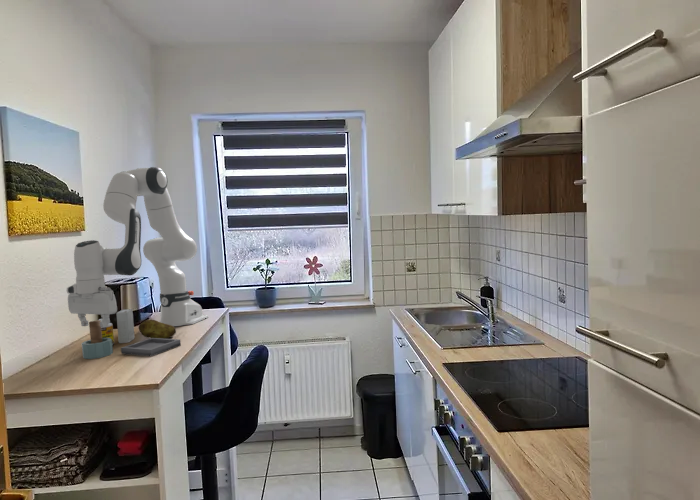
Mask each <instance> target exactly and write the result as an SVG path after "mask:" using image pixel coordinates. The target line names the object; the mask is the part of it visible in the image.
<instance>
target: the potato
mask: <svg viewBox="0 0 700 500" xmlns="http://www.w3.org/2000/svg"><path fill="white" fill-rule="evenodd" d="M138 330H139V332H140V334H141V336H143V337H145V338H147V339H149V338H163V339H171V338H172V337H173V336H175V334H176V332H177V330H176V326H172V325H168V324H164V323H161V322H160V321H158V320H155V319H146V320H143V321H142V322H141V323H140V324H139V325H138Z"/></svg>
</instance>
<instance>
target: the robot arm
mask: <svg viewBox="0 0 700 500" xmlns="http://www.w3.org/2000/svg"><path fill="white" fill-rule="evenodd" d="M167 187H168V176H167V174H166V172H165V171H164V170H163V169H162V168H160V167H154V166H150V167H140V168H139V167H138V168H135V169H130V170H124V171H123V170H122V171H121V172H117V173H115V174H114V175H113V176H112V177H111V180H110V182H109V184H108V187H107V189H106V192H105V195H104V200H103V211H104V213H105V215H106V216H107V217H108V218H110V219H111V220H113V221H114V222H117V223H118V224H119V223H120V224H122V225H124V227H125V230H124V232H125V233H124V245H123V246H121V247H120V248H107V247H105V246H102V245H101V243H100V242H99V240H96V239H95V240H93V239H92V240H85V241H82V242H78V243H77V244H75V245H74V253H73V261H74V270H75V273H76V276H75V283H74V284H72V285H70V286H68V287H66V293H67V294H68V295H67V305H68V310H69V312H70V314H77V317H78V319H79V321H80V323H81V324H80V325H81V327H87V326H88V327H89V320H88V319H87V317H86V316H87V315H100V316H101V319H102V322H100V327H107V321H108V319H109V318H110V315H115V314H116V313H117V312H118V306H117V299H116V296H115V294H114V293H115V292H114V290H112V289H111V287H106V282H105V276H133V275H135V274H136V273H137V272H138V271H139V270H140V268H141V266H142V252H141V239H142V237H141V236H142V217H141V213H140V212H139V210H137V208H136V205H137V200H138V197H143V202H144V207H145V211H146V215H147V218H148V223H149V226H150V228H152V229H153V231H156V232H158V234H159V235H160V236H161V237H156V238H152V239H149V240H147V241H145V243H144V245H143V247H142V249H143V250H142V251H143V256H144V257H145V258H146V260H148V261H149V262H150V263H151V264H152V266H153V267H154V270H155V271H156V274H157V278H158V283H159V291H160V293H159V302H160V316H159V317H160V319H159V322H161V323H164V324H168V325H172V326H174V327H180V326H187V325H194V324H197V323H199V322H201V321H203V320H206V319H208V318H209V315H208V314H203V308H202V306H201V304H199V303H198V302H196V301H194V300H193V299H191V296H194V293H195V292H194V290H187V289H188V288H187V280H186V279H187V278H186V274H185V272H183V270H182V269H180V268H179V267H178V265H177V264H176V262H185V261H188V260H189V261H190V260H191V259H193V258H194V257H196V254H197V252H198V246H197V242H196V241H195V240H194V239H193V238H192V237H190V236H189V235H188V234H186V232H185V231H184V230H183V228H182V227H181V226H180V224H179V222H178V220H177V215H176V213H175V208H174V205H173V201H172V198H171V195H170V192H169V190H168V188H167ZM205 318H206V319H205Z"/></svg>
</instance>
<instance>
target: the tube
mask: <svg viewBox="0 0 700 500" xmlns="http://www.w3.org/2000/svg"><path fill="white" fill-rule="evenodd" d="M102 341H103V342H100V343H93V344H91V339H89V340H88V339H87V340H85V341H83V342H81V350H82V352H81V353H82V358H83V359H85V360H93V359H100V358H105V357H108V356H110V355H112V354H113V353H114V351H113V345H112V339H111V338H102Z"/></svg>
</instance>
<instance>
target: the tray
mask: <svg viewBox="0 0 700 500" xmlns="http://www.w3.org/2000/svg"><path fill="white" fill-rule="evenodd" d="M181 345H182V344H181V339H178V338H177V339H176V338H167V339H163V338H147V339H144V340H140V341H138V342H135V343H131V344H129V345H126V346H122V347H120V353H121V355H133V356H145V357H153V356H156V355H159V354H161V353H164V352H167V351H169V350H172V349H175V348H178V347H180V346H181Z"/></svg>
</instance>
